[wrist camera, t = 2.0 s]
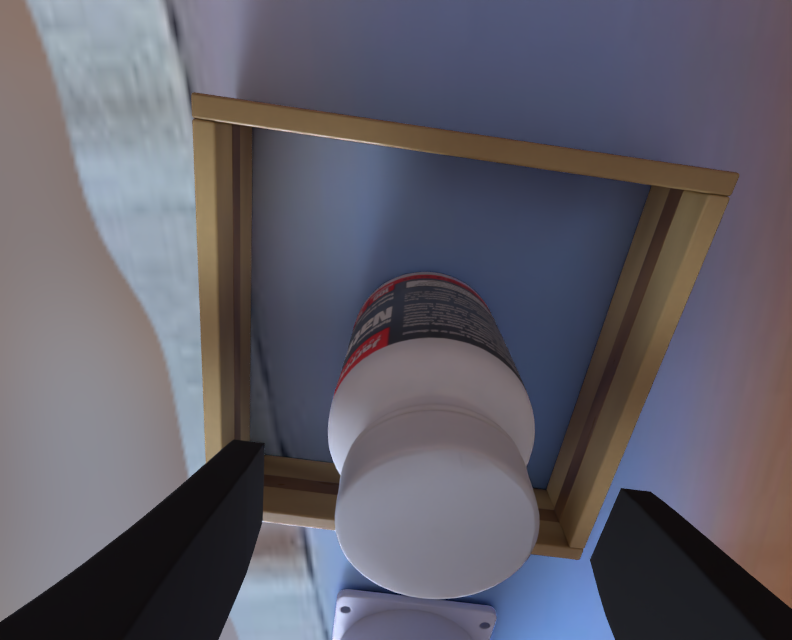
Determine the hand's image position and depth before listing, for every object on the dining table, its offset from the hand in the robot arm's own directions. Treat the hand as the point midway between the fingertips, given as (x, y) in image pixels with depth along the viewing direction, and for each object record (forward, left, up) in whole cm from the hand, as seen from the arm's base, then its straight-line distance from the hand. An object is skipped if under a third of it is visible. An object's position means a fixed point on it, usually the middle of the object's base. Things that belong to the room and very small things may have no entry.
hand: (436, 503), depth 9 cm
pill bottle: (0, 0, -8) cm, 9 cm away
